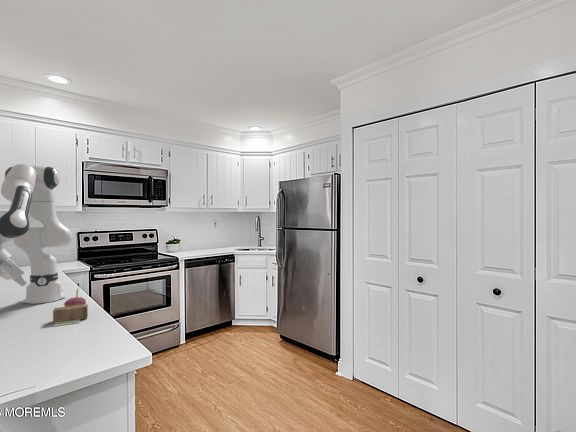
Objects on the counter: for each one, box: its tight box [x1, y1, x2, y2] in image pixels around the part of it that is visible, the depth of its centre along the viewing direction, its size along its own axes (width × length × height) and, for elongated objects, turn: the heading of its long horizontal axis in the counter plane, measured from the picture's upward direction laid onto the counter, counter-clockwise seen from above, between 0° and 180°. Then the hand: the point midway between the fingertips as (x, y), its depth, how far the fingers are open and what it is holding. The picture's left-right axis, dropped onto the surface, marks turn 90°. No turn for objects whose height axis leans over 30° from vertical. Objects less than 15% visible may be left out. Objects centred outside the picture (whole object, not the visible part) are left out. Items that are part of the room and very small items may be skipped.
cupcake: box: [63, 287, 87, 307], centre depth 151 cm, size 9×8×12 cm
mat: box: [52, 319, 82, 327], centre depth 141 cm, size 14×9×1 cm, turn 28°
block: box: [52, 303, 89, 324], centre depth 141 cm, size 5×5×12 cm
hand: (24, 284), depth 136 cm, fingers closed
